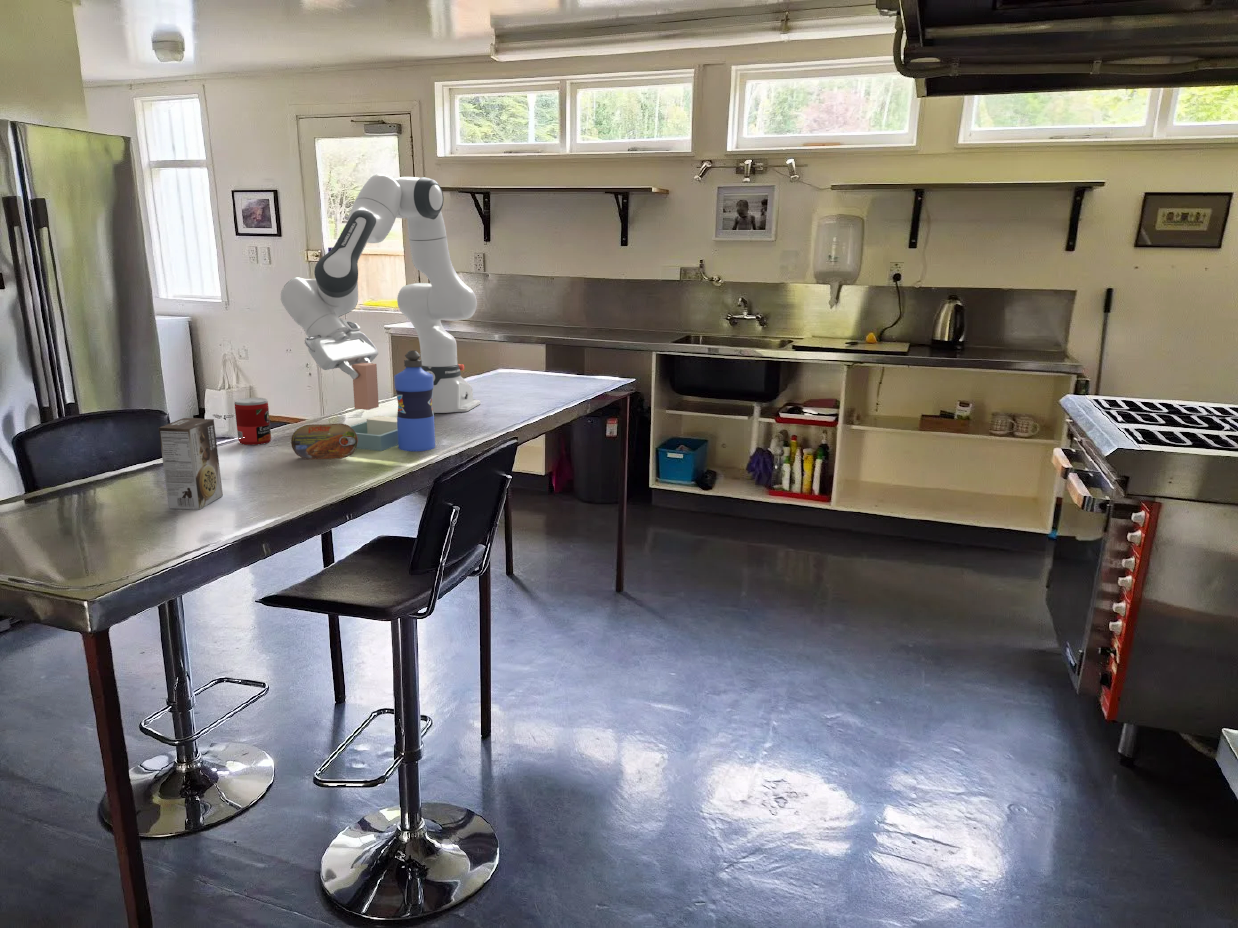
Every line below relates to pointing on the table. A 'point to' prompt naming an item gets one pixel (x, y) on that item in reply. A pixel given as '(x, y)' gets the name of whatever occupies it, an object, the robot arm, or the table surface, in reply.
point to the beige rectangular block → (381, 425)
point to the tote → (374, 438)
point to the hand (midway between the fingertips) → (364, 375)
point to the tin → (324, 441)
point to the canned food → (252, 421)
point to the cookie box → (190, 463)
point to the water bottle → (414, 406)
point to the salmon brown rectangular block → (366, 386)
